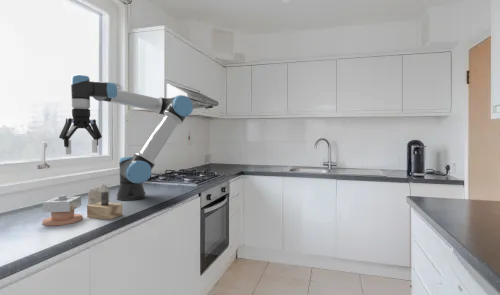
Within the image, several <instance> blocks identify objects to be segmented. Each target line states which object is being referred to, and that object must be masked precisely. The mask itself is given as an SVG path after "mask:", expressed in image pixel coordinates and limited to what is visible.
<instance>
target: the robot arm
mask: <svg viewBox="0 0 500 295" xmlns="http://www.w3.org/2000/svg"><path fill="white" fill-rule="evenodd" d="M70 80H71V82H70V83H71V84H70V86H71V87H70V89H71V91H70V92H71V93H70V94H71V108H72V109H71V115H72V118H71V117H67V118H65V123H64V125H63V127H62V130H61V132H60V134H59V137H58V138H59V139H60V140H63V147H64V148H65V155H72V139H70V138H71V137H72V136H73V135H74V134H75V132H77V130H78V129H85V130H86V131H87V133H88V134H89V135H90V136H91V138H93V139H91V152H92V154H93V153H95V154H97V153H98V146H99V140H100V139H102V134H101V131H100V129H99V127H98V125H97V120H96V119H90V117H91V110H90V108H91V98H93V99H94V100H95V101H99V102H108V103H113V104H119V105H123V106H128V107H133V108H137V109H141V110H142V109H144V110H148V111H152V112H156V113H157V114H159V115H163V116H162V118H161V120H160V122H159V123H158V124H157V126H156V127H155V129H154V131H152V133H151V135H150V136H149V138H148V139H147V141H146V142H145V143H144V145H143V146H142V147H141V149H140V151H138V152H134V154H133V156H125V157H120V159H119V163H118V164H119V187H118V191H117V194H116V199H117V201H135V200H136V201H139V200H141V199H145V198H146V196H147V195H146V191H145V188H144V185H143V183H145V182H147V181H148V180H149V179H150V178H151V175H152V170H153V168H154V167H155V165H156V164H155V159H156V158H157V157H158V155H159V154H160V152H161V151H162V149H163V148H164V146H165V145H166V143H167V142H168V140H169V138H170V137H171V135H172V134H173V132H174V131H175V129H176V128H177V126H179V125H180V124H182V123H184V120H185V119H186V118H187V117H188V116H190V115H191V114H192V112H193V111H194V110H193V109H194V105H193V101H192V100H191V98H189V96H186V95H176V96H174V97H170V98H169V97H167V98H165V97H161V96H160V97H158V98H157V97H152V96H148V95H144V94H140V93H137V92H136V93H134V92H130V91H127V90H122V89H118V86H117V84H116V83H115V82H110V81H109V82H107V81H95V80H94V81H93V80H91V79H90V76H88V75H83V74H74V75H72V76H71V79H70ZM90 97H91V98H90Z"/></svg>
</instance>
